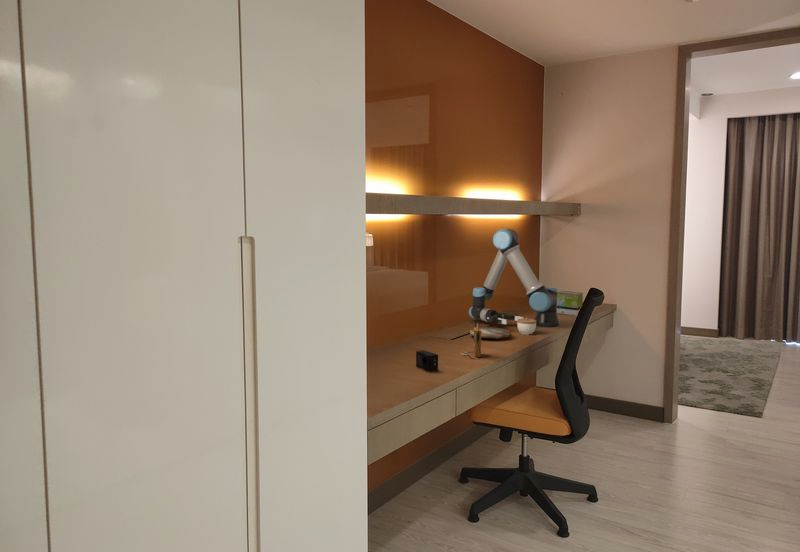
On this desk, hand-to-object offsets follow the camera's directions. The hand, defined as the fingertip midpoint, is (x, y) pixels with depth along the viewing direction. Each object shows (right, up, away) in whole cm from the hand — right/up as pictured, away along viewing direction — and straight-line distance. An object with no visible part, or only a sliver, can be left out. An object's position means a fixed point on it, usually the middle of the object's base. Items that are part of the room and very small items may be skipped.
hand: (515, 320), depth 351 cm
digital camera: (-55, -15, -83) cm, 101 cm away
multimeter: (-33, -12, -60) cm, 69 cm away
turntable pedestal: (-17, -8, -17) cm, 25 cm away
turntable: (-17, -6, -17) cm, 25 cm away
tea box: (+48, 0, +63) cm, 79 cm away
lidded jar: (+5, -7, -6) cm, 11 cm away
